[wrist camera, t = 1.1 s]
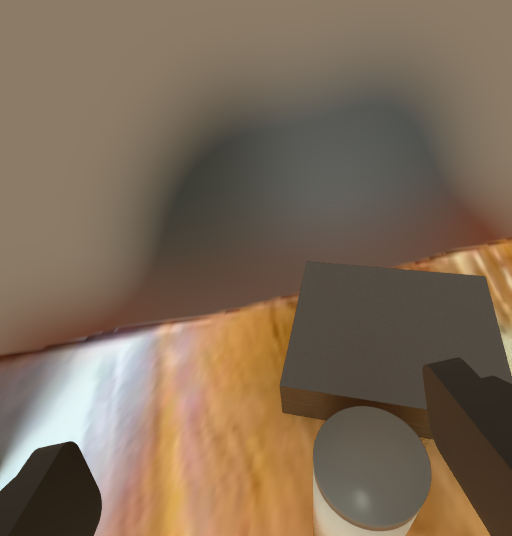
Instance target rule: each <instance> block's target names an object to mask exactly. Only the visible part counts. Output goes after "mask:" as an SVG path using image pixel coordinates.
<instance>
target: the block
mask: <svg viewBox="0 0 512 536" xmlns="http://www.w3.org/2000/svg"><path fill="white" fill-rule="evenodd" d="M458 357H459V358H461V359H463V360H464V361H465V362H466V363H467V364H468V365H469V366H470V367H471V368H472V369H473V370H474V371H475V372H476V373H477V374H478V375H479V376H480V377H481V378H484V377H489V376H493V375H494V376H496V377H498V378H500V379H502V380H504V381H507V382H509V383H511V384H512V376H511V372H510V369H509V365H508V361H507V357H506V353H505V349H504V346H503V342H502V338H501V334H500V330H499V326H498V323H497V319H496V315H495V311H494V307H493V303H492V300H491V296H490V292H489V288H488V284H487V280H486V277H485V276H475V275H463V274H451V273H439V272H427V271H415V270H403V269H391V268H379V267H366V266H355V265H342V264H330V263H318V262H308V261H307V263H306V268H305V272H304V276H303V281H302V286H301V290H300V295H299V299H298V304H297V309H296V313H295V318H294V323H293V327H292V332H291V336H290V341H289V346H288V350H287V355H286V359H285V364H284V369H283V373H282V378H281V382H280V393H281V402H282V412H283V413H288V414H293V415H299V416H305V417H310V418H316V419H321V420H328V419H329V418H330V417H331V416H332V415H334V414H336V413H337V412H339V411H341V410H344V409H347V408H350V407H357V406H367V407H374V408H379V409H382V410H385V411H387V412H389V413H391V414H393V415H395V416H397V417H398V418H400V419H401V420H402V421H404V422H405V423H406V424H407V425H408V426H409V427H411V428H412V430H413V431H414V432H415V433H416V434H417V436H418V437H423V438H429V439H434V438H433V436H432V432H431V429H430V425H429V420H428V412H427V404H426V397H425V389H424V381H423V373H422V369H423V366H424V365H426V364H430V363H435V362H439V361H444V360H448V359H453V358H458Z"/></svg>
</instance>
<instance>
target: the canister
mask: <svg viewBox="0 0 512 536" xmlns="http://www.w3.org/2000/svg"><path fill="white" fill-rule="evenodd" d="M430 485H431V466H430V461H429V457H428V454H427V452H426V449H425V447H424V445H423V443H422V441H421V440H420V438H419V437H418V436H417V434H416V433H415V432H414V431H413V430H412V428H411V427H409V426H408V425H407V424H406V423H405V422H404V421H402V420H401V419H400V418H398V417H397V416H395V415H393V414H391V413H389V412H387V411H385V410H382V409H379V408H374V407H367V406H357V407H350V408H347V409H344V410H341V411H339V412H337V413H336V414H334V415H332V416H331V417H330V418H329V419H328V420H327V421H326V422H325V423H324V424H323V426H322V427H321V428H320V430H319V432H318V434H317V437H316V440H315V444H314V451H313V532H314V536H406V534H407V532H408V531H409V529H410V527H411V525H412V523H413V522H414V520H415V518H416V516H417V514H418V512H419V511H420V509H421V507H422V505H423V503H424V502H425V500H426V497H427V495H428V493H429V489H430Z"/></svg>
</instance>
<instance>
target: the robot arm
mask: <svg viewBox="0 0 512 536" xmlns="http://www.w3.org/2000/svg"><path fill="white" fill-rule="evenodd" d="M422 373H423V381H424V389H425V397H426V404H427V412H428V420H429V425H430V429H431V432H432V436H433V438H434V441H435V443H436V446H437V448H438V450H439V452H440V453H441V455H442V457H443V458H444V460H445V462H446V463H447V465H448V466H449V468H450V470H451V471H452V473H453V475H454V476H455V478H456V479H457V481H458V483H459V484H460V486H461V488H462V489H463V491H464V492H465V494H466V496H467V497H468V499H469V501H470V502H471V504H472V506H473V507H474V509H475V510H476V512H477V514H478V515H479V517H480V519H481V520H482V522H483V523H484V525H485V527H486V528H487V530H488V532H489V533H490V535H491V536H512V384H511V383H509V382H507V381H504V380H502V379H500V378H498V377H496V376H494V375H493V376H489V377H484V378H481V377H480V376H479V375H478V374H477V373H476V372H475V371H474V370H473V369H472V368H471V367H470V366H469V365H468V364H467V363H466V362H465V361H464V360H463V359H461V358H459V357H458V358H453V359H448V360H444V361H439V362H435V363H430V364H426V365H424V366H423V369H422ZM101 510H102V500H101V494H100V491H99V488H98V486H97V484H96V482H95V480H94V478H93V476H92V474H91V472H90V469H89V467H88V465H87V463H86V461H85V459H84V457H83V455H82V453H81V451H80V449H79V447H78V445H77V444H76V443H74V442H71V441H69V442H65V443H60V444H56V445H51V446H47V447H42V448H38V449H36V450H35V451H34V452H33V453H32V454H31V456H30V457H29V459H28V460H27V461H26V463H25V464H24V466H23V467H22V469H21V470H20V472H19V473H18V474H17V476H16V477H15V478H13V479H12V480H11V481H10V482H9V483H8V484H7V485H6V486H5V487H4V488H3V489H2V490H1V491H0V536H94V534H95V531H96V529H97V526H98V523H99V521H100V517H101Z"/></svg>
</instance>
